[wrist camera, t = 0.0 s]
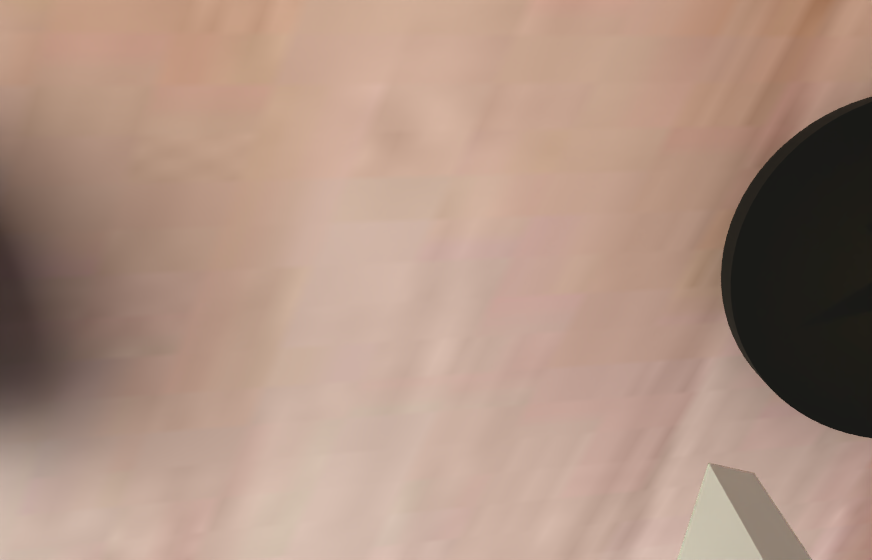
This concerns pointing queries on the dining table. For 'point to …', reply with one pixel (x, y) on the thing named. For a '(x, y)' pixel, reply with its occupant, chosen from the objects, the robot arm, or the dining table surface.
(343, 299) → the dining table surface
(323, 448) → the dining table surface
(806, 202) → the wireless charger
